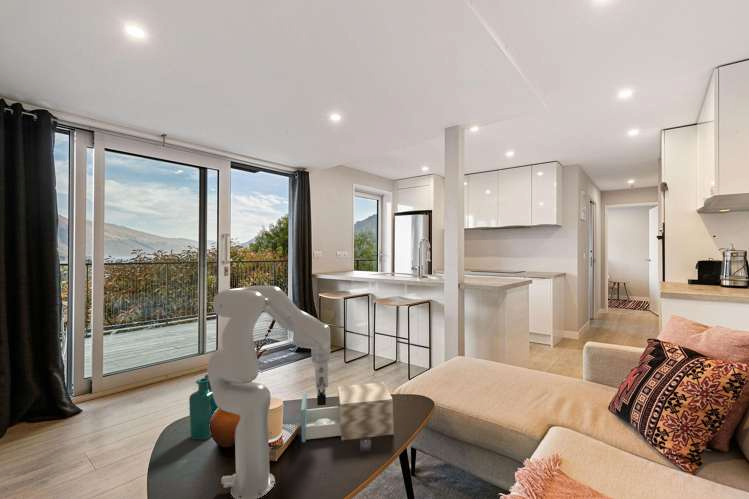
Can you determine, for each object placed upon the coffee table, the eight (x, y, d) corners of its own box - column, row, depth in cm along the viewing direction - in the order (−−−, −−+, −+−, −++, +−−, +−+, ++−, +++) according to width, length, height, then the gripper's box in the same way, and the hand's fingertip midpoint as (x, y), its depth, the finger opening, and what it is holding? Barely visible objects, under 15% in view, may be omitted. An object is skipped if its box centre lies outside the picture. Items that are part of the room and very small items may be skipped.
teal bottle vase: (207, 441, 133) (205, 383, 133) (187, 439, 134) (186, 382, 135) (223, 428, 142) (221, 374, 143) (204, 426, 144) (203, 373, 144)
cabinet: (341, 440, 130) (340, 404, 130) (338, 418, 148) (337, 386, 148) (393, 434, 133) (392, 399, 133) (384, 413, 151) (383, 382, 151)
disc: (331, 429, 135) (331, 425, 135) (315, 431, 134) (315, 427, 134) (331, 421, 141) (330, 417, 141) (315, 423, 140) (315, 419, 140)
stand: (360, 453, 121) (360, 443, 121) (359, 447, 125) (359, 437, 125) (371, 452, 122) (371, 442, 122) (370, 446, 126) (370, 436, 126)
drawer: (301, 442, 128) (300, 410, 128) (303, 419, 145) (303, 391, 146) (355, 436, 131) (354, 404, 131) (351, 414, 149) (350, 386, 149)
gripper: (331, 361, 130) (331, 408, 129) (329, 350, 147) (330, 391, 146) (310, 363, 129) (311, 409, 128) (311, 351, 146) (312, 392, 145)
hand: (321, 399), depth 137 cm, fingers open, 9 cm apart
